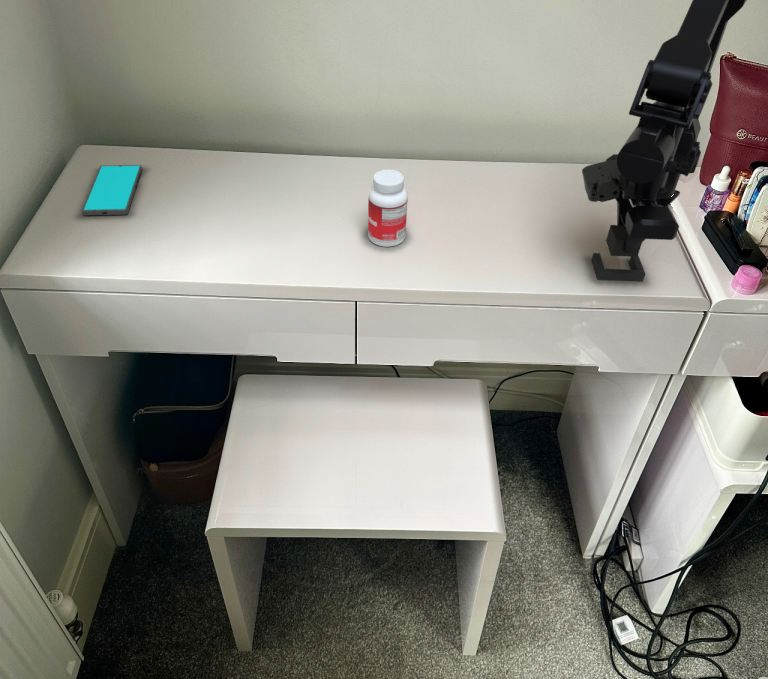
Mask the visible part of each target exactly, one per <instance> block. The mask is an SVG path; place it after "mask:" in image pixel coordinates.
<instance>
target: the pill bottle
mask: <svg viewBox="0 0 768 679" xmlns="http://www.w3.org/2000/svg"><path fill="white" fill-rule="evenodd" d="M372 179H373V180H372V186H371V187H370V189H369V190H368V194H367V195H368V196H367V198H368V199H367V201H368V203H367V237H368V239H369V240H370V242H371V243H373V244H375V245H376V246H380V247H388V248H389V247H395V246H398V245H400V244H402V242H404V240H405V238H406V236H407V235H406V233H407V216H408V201H409V195H408V191H407V189H406V188H405V187H404V186H405V176H404V174H403V173H401V172H400V171H399V170H395V169H390V168H389V169H379V170H378V171H376V172H375V173H374V174H373V177H372Z"/></svg>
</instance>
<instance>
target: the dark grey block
mask: <svg viewBox="0 0 768 679" xmlns="http://www.w3.org/2000/svg"><path fill="white" fill-rule="evenodd" d="M625 233H626V227H625V226H624V225H617V224H610V225H609V229H608V231H607V234H606V235H607V236H606V239H605V243H606V245H607V248H608V251H609V255H610V256H611V257H625V258H628V257H629V258H630V257H637V256H639V253H640V250H641V247H642V244H643V242H642V243H641V244H640V245H639V246H638V247H637V248H635V249H634V250H633V251H632V252H631V253H625V252H624V240H625Z"/></svg>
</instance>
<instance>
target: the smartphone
mask: <svg viewBox="0 0 768 679" xmlns="http://www.w3.org/2000/svg"><path fill="white" fill-rule="evenodd" d="M142 171H143V167H142V164H121V165H120V164H119V165H118V164H114V165H113V164H112V165H100V166H99V168H98V170H97V173H96V175H95V178H94V180H93V183H92V185H91V187H90V190H89V192H88V194H87V197H86V199H85V201H84V204H83V206H82V209H81V212H82V215H83V216H121V215H122V216H123V215H129V211H130V208H131V206H132V202H133V200H134V197H135V193H136V190H137V187H138V184H139V181H140V178H141V175H142Z"/></svg>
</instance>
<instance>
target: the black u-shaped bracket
mask: <svg viewBox="0 0 768 679" xmlns="http://www.w3.org/2000/svg"><path fill="white" fill-rule="evenodd" d="M590 261H591V264H592V267H593V270H594V274H595V277H596V280H597V281H623V282H644V280H645V277H646V272H645V268H644V266H643V264H642V261H641V259H640V257H639V255H638V256H637V257H629V260H628V263H629V265H630V268H631V269H630V268H629V269H625V268H606V267H605V265H604V262H603V259H602V257H601V252H592V256H591V259H590Z"/></svg>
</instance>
